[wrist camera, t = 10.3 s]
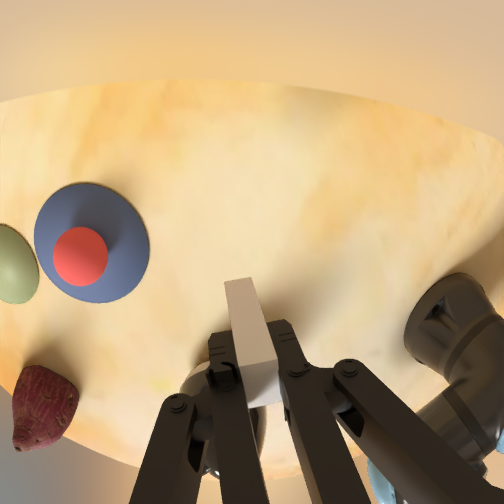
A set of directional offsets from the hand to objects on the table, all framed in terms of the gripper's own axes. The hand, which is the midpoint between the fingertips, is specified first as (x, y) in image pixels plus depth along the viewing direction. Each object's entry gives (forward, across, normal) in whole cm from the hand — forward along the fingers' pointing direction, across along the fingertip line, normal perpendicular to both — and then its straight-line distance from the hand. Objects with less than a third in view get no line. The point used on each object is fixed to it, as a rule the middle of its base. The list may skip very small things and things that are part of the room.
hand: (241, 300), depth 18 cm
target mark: (+14, +14, 0) cm, 20 cm away
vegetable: (+14, +30, +20) cm, 39 cm away
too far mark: (+14, +26, 0) cm, 29 cm away
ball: (+11, +14, 0) cm, 18 cm away
